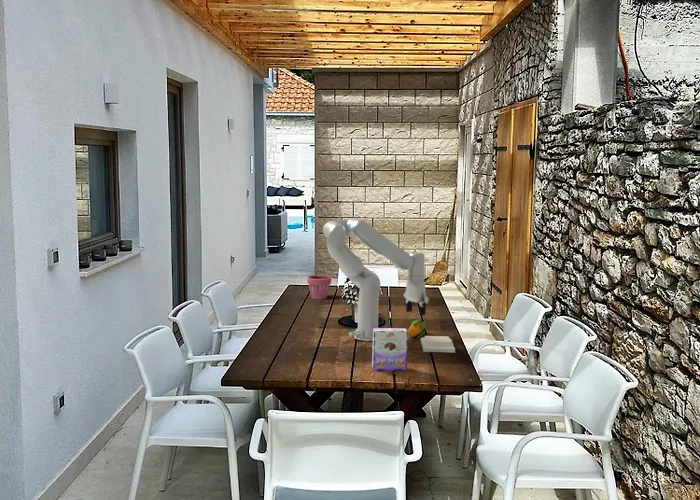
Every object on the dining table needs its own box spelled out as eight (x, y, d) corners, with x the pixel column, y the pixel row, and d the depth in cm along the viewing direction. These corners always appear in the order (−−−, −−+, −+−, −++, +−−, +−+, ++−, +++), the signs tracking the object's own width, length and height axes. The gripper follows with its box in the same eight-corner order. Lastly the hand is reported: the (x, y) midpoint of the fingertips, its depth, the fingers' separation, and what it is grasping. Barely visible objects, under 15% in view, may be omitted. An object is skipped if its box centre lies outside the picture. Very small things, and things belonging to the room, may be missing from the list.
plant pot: (317, 300, 447) (317, 279, 445) (302, 297, 457) (302, 276, 455) (335, 298, 456) (335, 277, 455) (320, 294, 466) (320, 274, 465)
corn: (427, 317, 370) (418, 325, 352) (428, 332, 371) (419, 341, 352) (413, 317, 373) (403, 325, 354) (413, 332, 374) (403, 341, 355)
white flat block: (455, 352, 334) (455, 344, 334) (423, 351, 335) (423, 343, 334) (450, 341, 354) (450, 334, 354) (420, 340, 354) (421, 333, 354)
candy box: (405, 367, 309) (406, 327, 307) (406, 371, 303) (408, 331, 301) (371, 366, 309) (372, 327, 307) (372, 370, 303) (373, 330, 301)
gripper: (398, 276, 365) (398, 311, 367) (422, 281, 351) (421, 317, 353) (410, 274, 369) (410, 309, 371) (434, 279, 355) (433, 315, 358)
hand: (415, 313), depth 362 cm, fingers open, 9 cm apart
